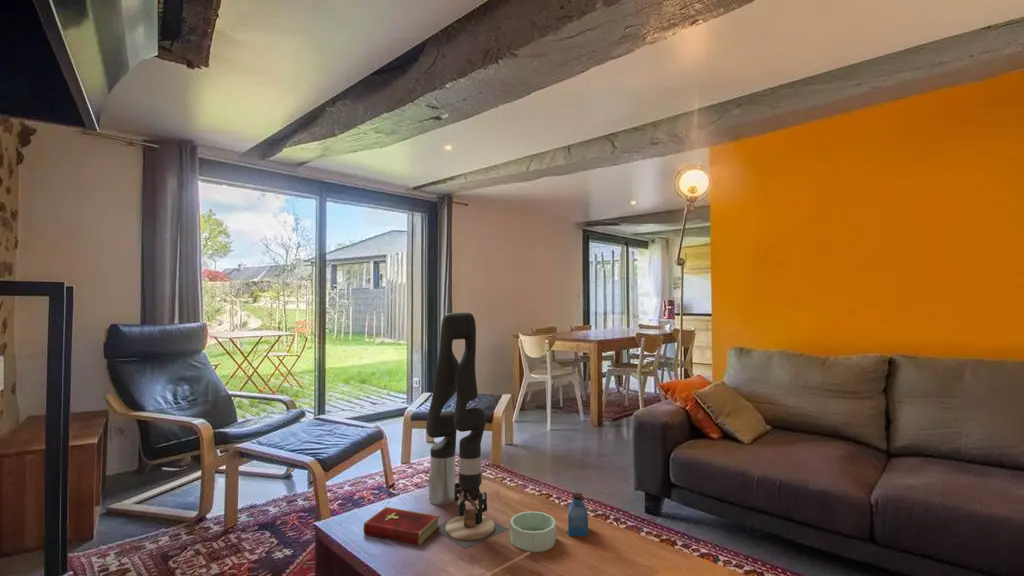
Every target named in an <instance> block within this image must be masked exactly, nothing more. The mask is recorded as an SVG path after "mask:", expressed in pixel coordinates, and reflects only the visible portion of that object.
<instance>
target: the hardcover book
mask: <svg viewBox="0 0 1024 576" xmlns="http://www.w3.org/2000/svg"><path fill="white" fill-rule="evenodd" d="M439 518H440V515H435V514H429V513H424V512H417V511H413V510H412V511H411V510H407V509H401V508H394V507H389V506H386V507H384V508H383V509H381V510H379V511H378V512H377V513H375V514H374V515H373V516H372V517H370V518H369V519H368V520H367V519H366V521H365V522H363V535H364V536H369V537H374V538H378V539H383V540H392V541H396V542H401V543H406V544H411V545H413V546H414V545H415V546H420V547H421V546H422V545H423V544H424V543H425V542H426V541H428V540H429V539H430V538H431V537H432V536H433V535H435V533H437V530H438V529H439V528H440V527H438V525H439Z"/></svg>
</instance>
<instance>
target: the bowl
mask: <svg viewBox="0 0 1024 576" xmlns="http://www.w3.org/2000/svg"><path fill="white" fill-rule="evenodd" d="M509 538H510V542H511V544H512V545H513V546H515V547H516V548H518V549H520V550H524V551H527V553H532V554H533V553H544V552H547V551H548V550H550V549H552V548H553V547H554V546H555V545H556V539H557V521H556V520H555V518H554V517H553V516H552V515H550V514H548V513H545V512H542V511H534V510H531V511H522V512H520V513H517V514H515V515H512V517H511V519H510V520H509Z"/></svg>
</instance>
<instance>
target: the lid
mask: <svg viewBox="0 0 1024 576" xmlns="http://www.w3.org/2000/svg"><path fill="white" fill-rule="evenodd" d="M475 513H476V512H475V509H474V508H467V509H465V511H464V516H459V515H458V516H455V517H453V518H451V519H450V520H448V521H446V522H447V524H446V533H447V535H448V536H450V537H452V538H454V539H457V540H462V541H473V540H479V539H483V538H485V537H487V536H489V535H491V534H492V533H493V531H494V522H495V521H494V520H492V518H490V517H489V516H485V515H483V516H482V523H481V524H479V525H476V524H475ZM493 521H494V522H493Z"/></svg>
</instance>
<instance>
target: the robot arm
mask: <svg viewBox="0 0 1024 576" xmlns="http://www.w3.org/2000/svg"><path fill="white" fill-rule="evenodd" d="M439 340H440V341H439V352H438V357H437V364H436V368H435V369H436V370H435V375H434V381H433V389H432V396H431V402H430V406H429V409H428V413H427V417H426V423H425V424H426V426H425V429H426V434H427V435H428V437H429V438H432V439H436V438H438V439H439V438H442V439H441V440H440V441H439V442H438V443H435V444H434V445H432V446H431V448H430V473H429V474H428V475H429V478H428V479H429V481H428V482H429V484H428V485H429V486H428V488H429V489H428V490H429V492H428V496H429V498H428V499H429V500H430V501H429V502H430V503H431V504H432V505H435V506H436V505H440V506H441V505H448V504H452V503H453V502H457V505H458V516H464V511H465V510H466V502H468V503H470V506H471V507H472V508H473V509H474V510H475V512H476V513H475V524H476V525H479V524H481V523H482V515H483V513H485V512H487V511H488V499H487V498H488V497H487V494H488V493H487V492H486V491H484V492H481V490H480V487H481V485H482V479H483V478H482V475H483V474H482V472H483V471H482V457H481V456H482V449H481V447H482V440H483V434H484V433H485V432H484V431H485V428H486V424H487V416H486V413H485V411H484V410H483V408H481V407H472V408H467V406H468V404H469V403H470V402H473V401H475V400H477V398H478V397H479V396H478V395H479V394H478V385H477V377H476V376H477V375H476V354H477V353H476V351H477V350H476V349H477V348H476V347H477V343H476V342H477V328H476V319H475V316H474V315H473V314H472V313H471V312H449V313H448V312H447V313H445V314H444V315H443V317H442V320H441V326H440V338H439ZM455 340H464V352H463V354H462V357H461V360H460V362H459V360H458V359H457V358H456V355H455V354H454V351H453V348H452V347H453V346H452V345H453V341H455ZM455 394H456V400H455V401H456V403H455V408H454V411H453V410H445V411H443V409H444V407H445V406H446V405H447V403H449V401H450V400H451V399H452V398H453V397H454V396H455ZM457 431H459V432H460V433H461V432H470V433H469V434H468V435H465V436H463V437H462V438H461V439H460V440H459V451H458V452H459V458H458V482H456V450H457V447H456V446H457Z"/></svg>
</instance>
